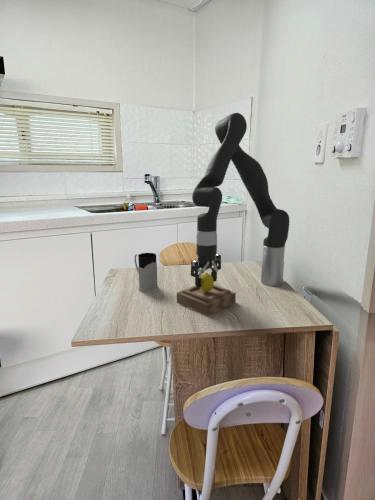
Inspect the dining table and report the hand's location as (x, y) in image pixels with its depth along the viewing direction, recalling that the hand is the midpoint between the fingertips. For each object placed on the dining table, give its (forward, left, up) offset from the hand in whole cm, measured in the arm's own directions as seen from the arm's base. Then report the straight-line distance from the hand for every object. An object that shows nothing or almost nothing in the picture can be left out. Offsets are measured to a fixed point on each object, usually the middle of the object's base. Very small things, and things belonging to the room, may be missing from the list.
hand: (206, 283), depth 118 cm
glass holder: (+7, -30, -8) cm, 32 cm away
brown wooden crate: (0, 0, -8) cm, 8 cm away
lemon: (0, 0, -4) cm, 4 cm away
